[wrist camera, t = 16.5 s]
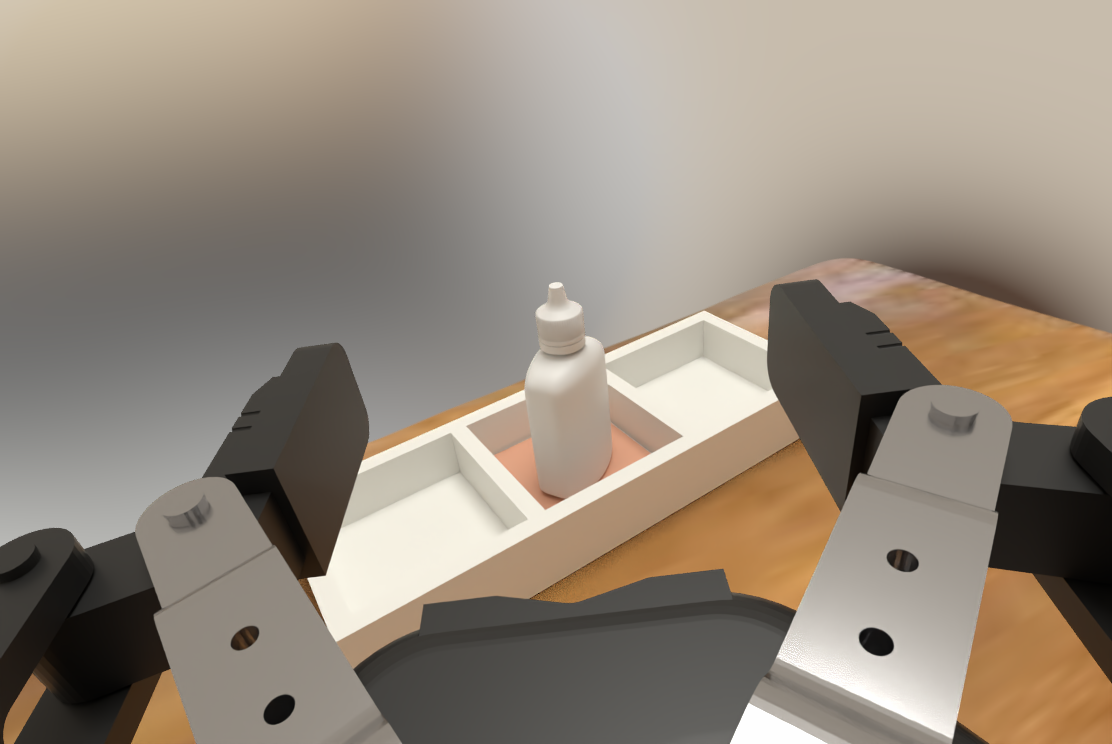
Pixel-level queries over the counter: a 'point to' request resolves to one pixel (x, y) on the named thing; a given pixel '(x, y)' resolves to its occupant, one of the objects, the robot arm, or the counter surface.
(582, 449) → the eye dropper bottle
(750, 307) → the counter surface
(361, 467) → the rack
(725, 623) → the robot arm
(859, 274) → the counter surface
